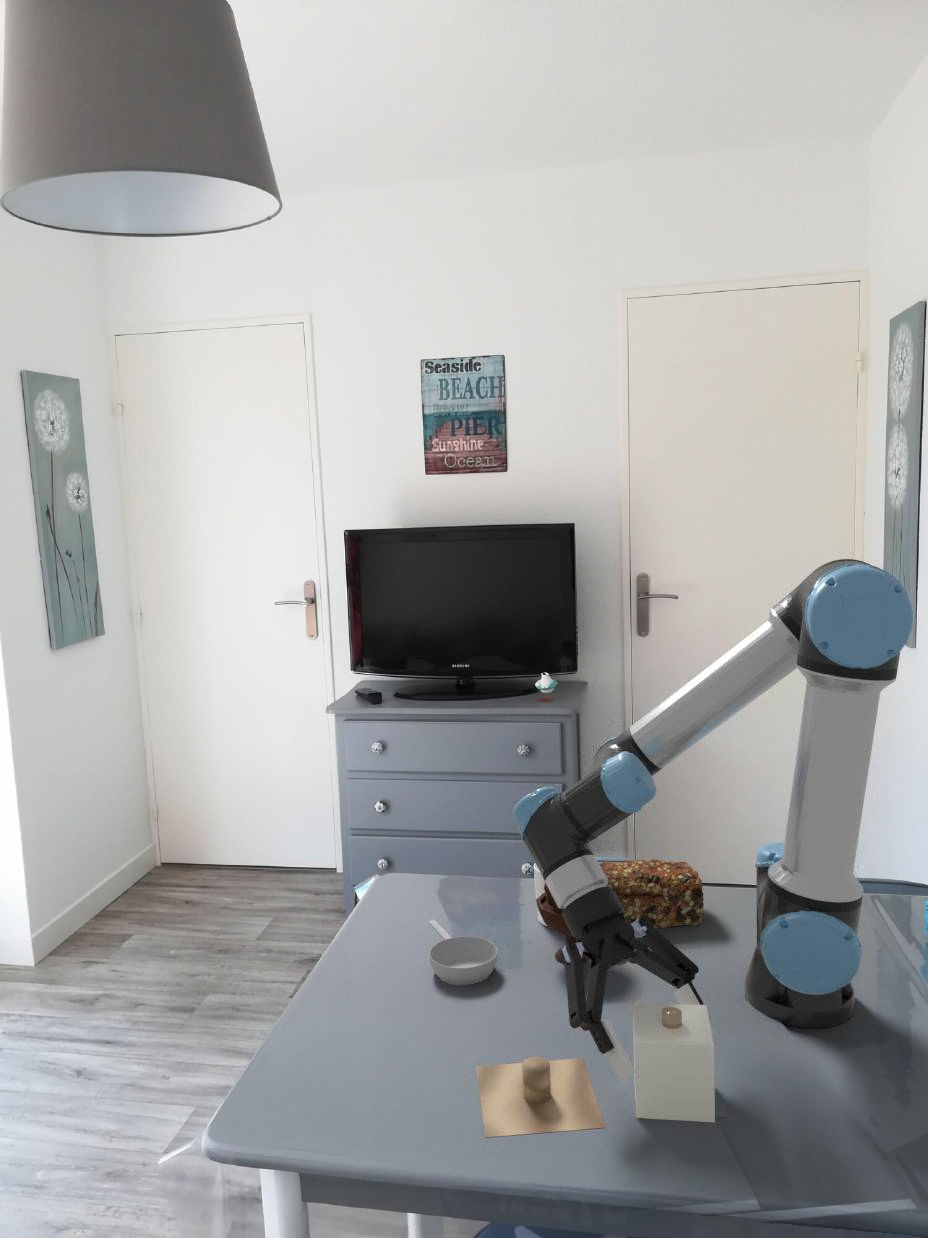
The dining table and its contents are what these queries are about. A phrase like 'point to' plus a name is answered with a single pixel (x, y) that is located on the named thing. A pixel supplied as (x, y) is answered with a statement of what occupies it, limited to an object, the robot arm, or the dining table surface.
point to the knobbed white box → (673, 1062)
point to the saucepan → (462, 958)
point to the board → (517, 1116)
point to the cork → (536, 1080)
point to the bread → (657, 891)
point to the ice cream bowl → (555, 919)
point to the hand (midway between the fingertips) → (669, 1057)
